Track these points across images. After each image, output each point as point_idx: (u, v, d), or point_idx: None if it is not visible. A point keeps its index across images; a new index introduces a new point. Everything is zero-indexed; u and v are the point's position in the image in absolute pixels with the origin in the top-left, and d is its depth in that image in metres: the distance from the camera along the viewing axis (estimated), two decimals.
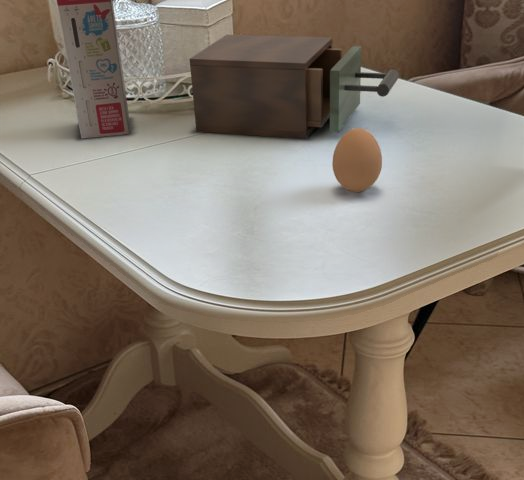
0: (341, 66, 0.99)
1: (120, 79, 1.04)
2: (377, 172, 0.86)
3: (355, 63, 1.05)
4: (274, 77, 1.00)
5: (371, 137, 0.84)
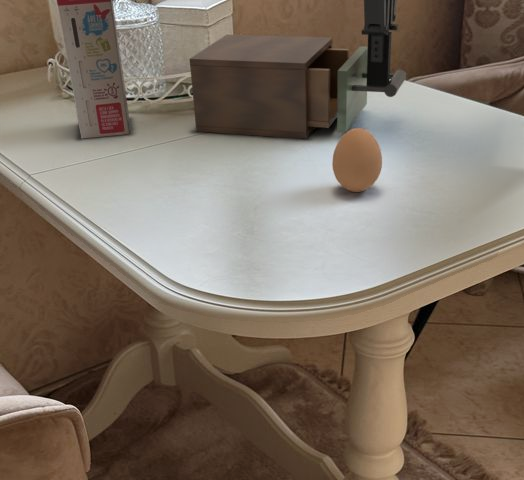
0: (349, 66, 0.99)
1: (120, 79, 1.04)
2: (377, 172, 0.86)
3: (362, 63, 1.05)
4: (274, 77, 1.00)
5: (371, 137, 0.84)
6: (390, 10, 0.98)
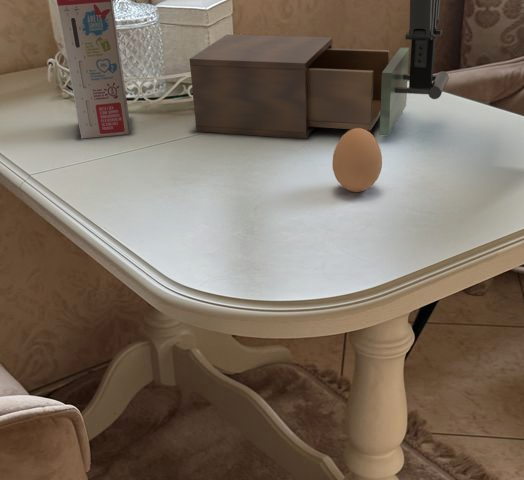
0: (393, 68, 0.97)
1: (120, 79, 1.04)
2: (377, 172, 0.86)
3: (404, 65, 1.04)
4: (274, 77, 1.00)
5: (371, 137, 0.84)
6: (434, 15, 0.97)
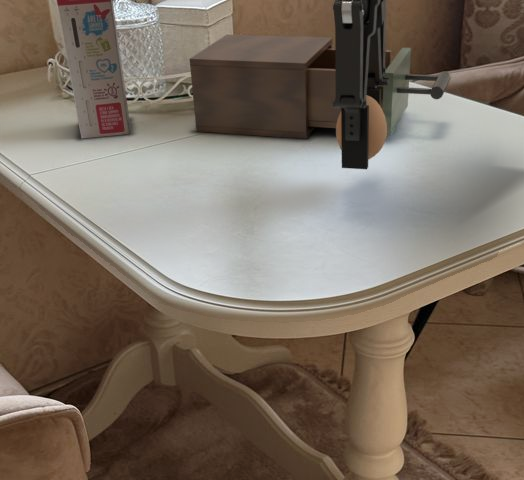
0: (394, 68, 0.97)
1: (120, 79, 1.04)
2: (382, 140, 0.83)
3: (405, 65, 1.04)
4: (274, 77, 1.00)
5: (375, 103, 0.82)
6: (378, 67, 0.83)
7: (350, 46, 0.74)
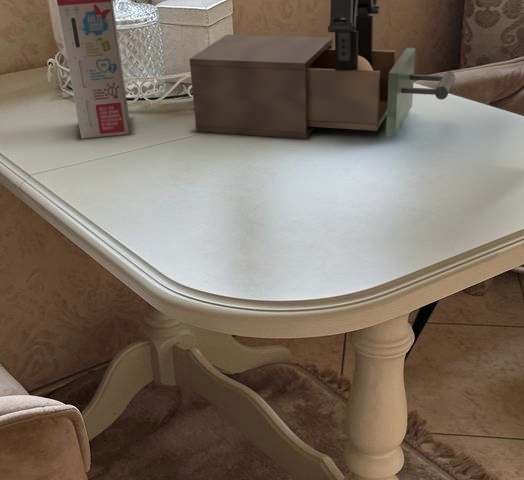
0: (399, 68, 0.97)
1: (120, 79, 1.04)
2: None
3: (410, 65, 1.03)
4: (274, 77, 1.00)
5: (366, 62, 1.02)
6: None
7: None
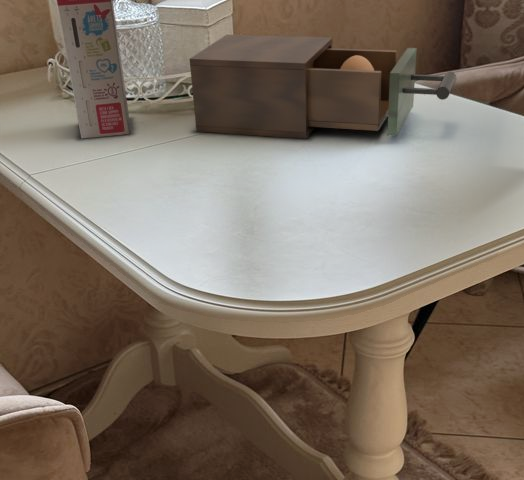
0: (401, 68, 0.97)
1: (120, 79, 1.04)
2: None
3: (411, 65, 1.03)
4: (274, 77, 1.00)
5: (368, 62, 1.02)
6: None
7: None
